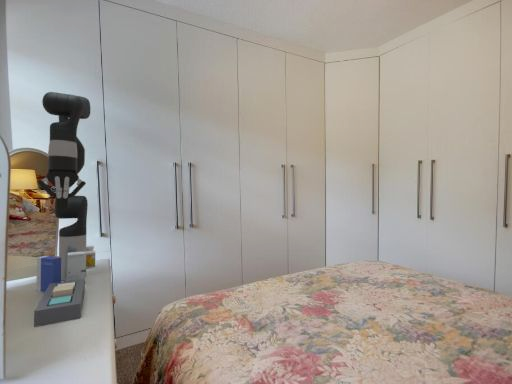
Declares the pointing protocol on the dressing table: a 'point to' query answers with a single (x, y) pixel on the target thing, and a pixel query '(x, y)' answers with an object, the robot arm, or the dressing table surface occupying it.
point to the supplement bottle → (90, 256)
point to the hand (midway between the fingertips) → (62, 210)
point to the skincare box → (76, 266)
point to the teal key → (60, 300)
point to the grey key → (67, 284)
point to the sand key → (63, 290)
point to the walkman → (48, 271)
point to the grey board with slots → (59, 305)
